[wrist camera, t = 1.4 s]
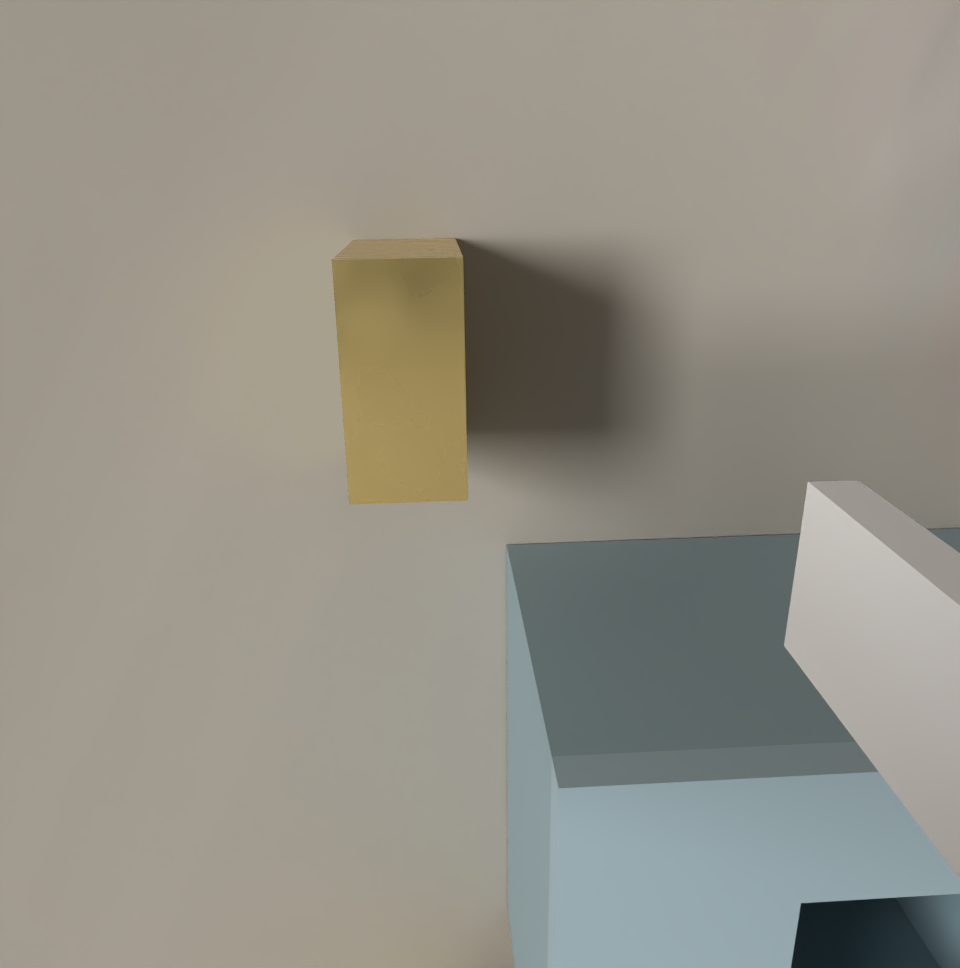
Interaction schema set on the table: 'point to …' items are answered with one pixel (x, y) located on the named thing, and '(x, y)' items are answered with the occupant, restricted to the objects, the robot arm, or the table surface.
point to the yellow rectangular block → (402, 369)
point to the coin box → (696, 775)
